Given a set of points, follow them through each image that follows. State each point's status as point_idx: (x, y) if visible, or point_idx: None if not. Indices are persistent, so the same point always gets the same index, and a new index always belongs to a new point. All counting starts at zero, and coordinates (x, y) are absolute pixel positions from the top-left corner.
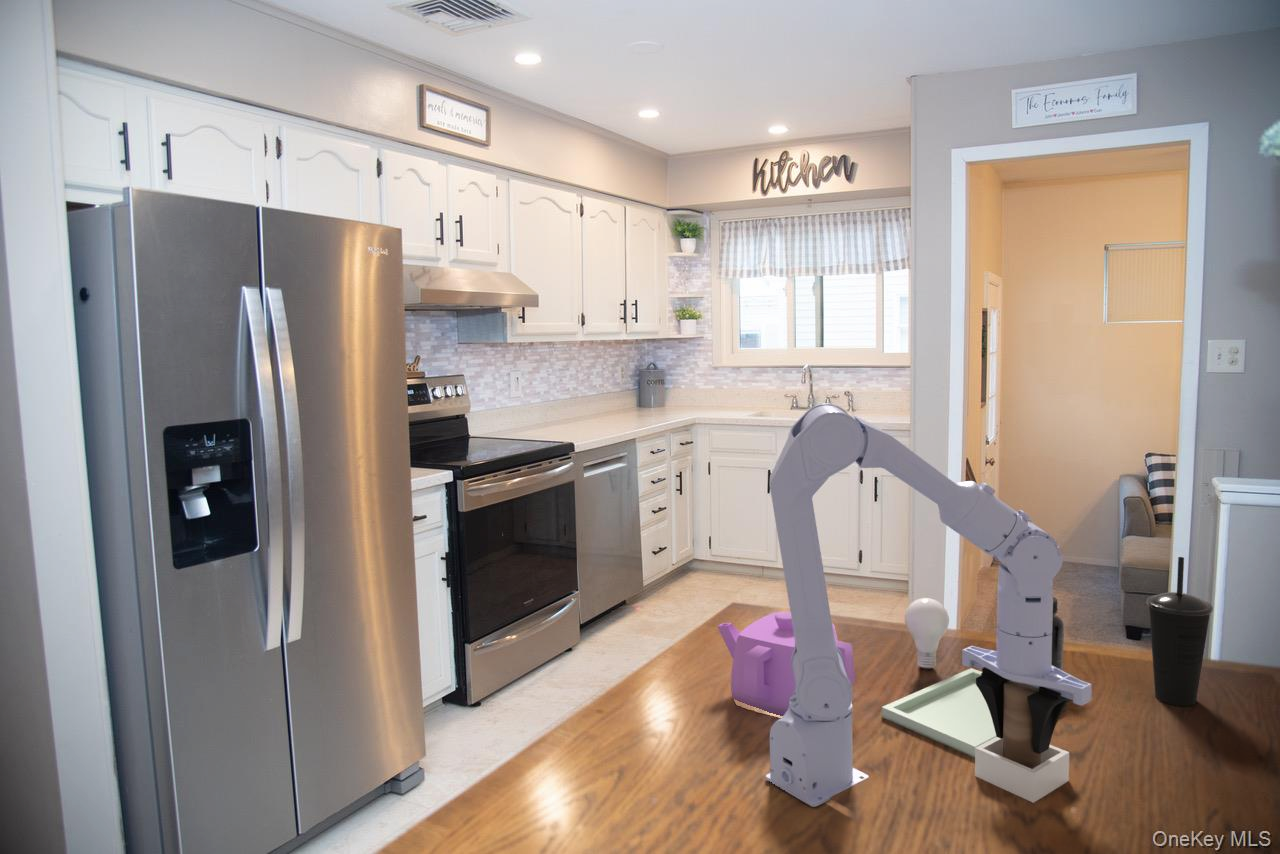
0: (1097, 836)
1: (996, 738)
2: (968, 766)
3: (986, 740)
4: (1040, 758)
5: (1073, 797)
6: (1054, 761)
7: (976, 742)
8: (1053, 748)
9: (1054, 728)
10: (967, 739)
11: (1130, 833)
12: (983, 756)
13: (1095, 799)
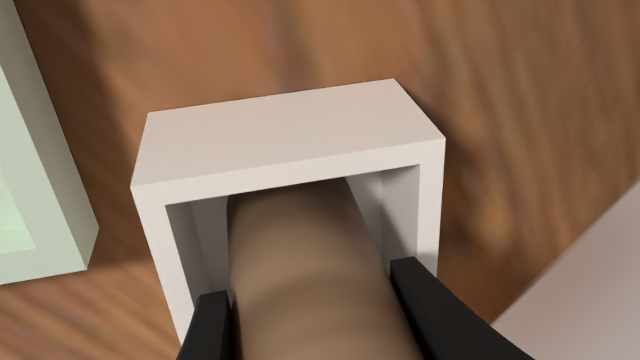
0: (563, 225)
1: (174, 295)
2: (113, 259)
3: (56, 200)
4: (371, 237)
5: (441, 127)
6: (437, 239)
7: (55, 245)
8: (380, 167)
9: (476, 315)
10: (15, 257)
11: (625, 148)
12: None
13: (495, 77)
